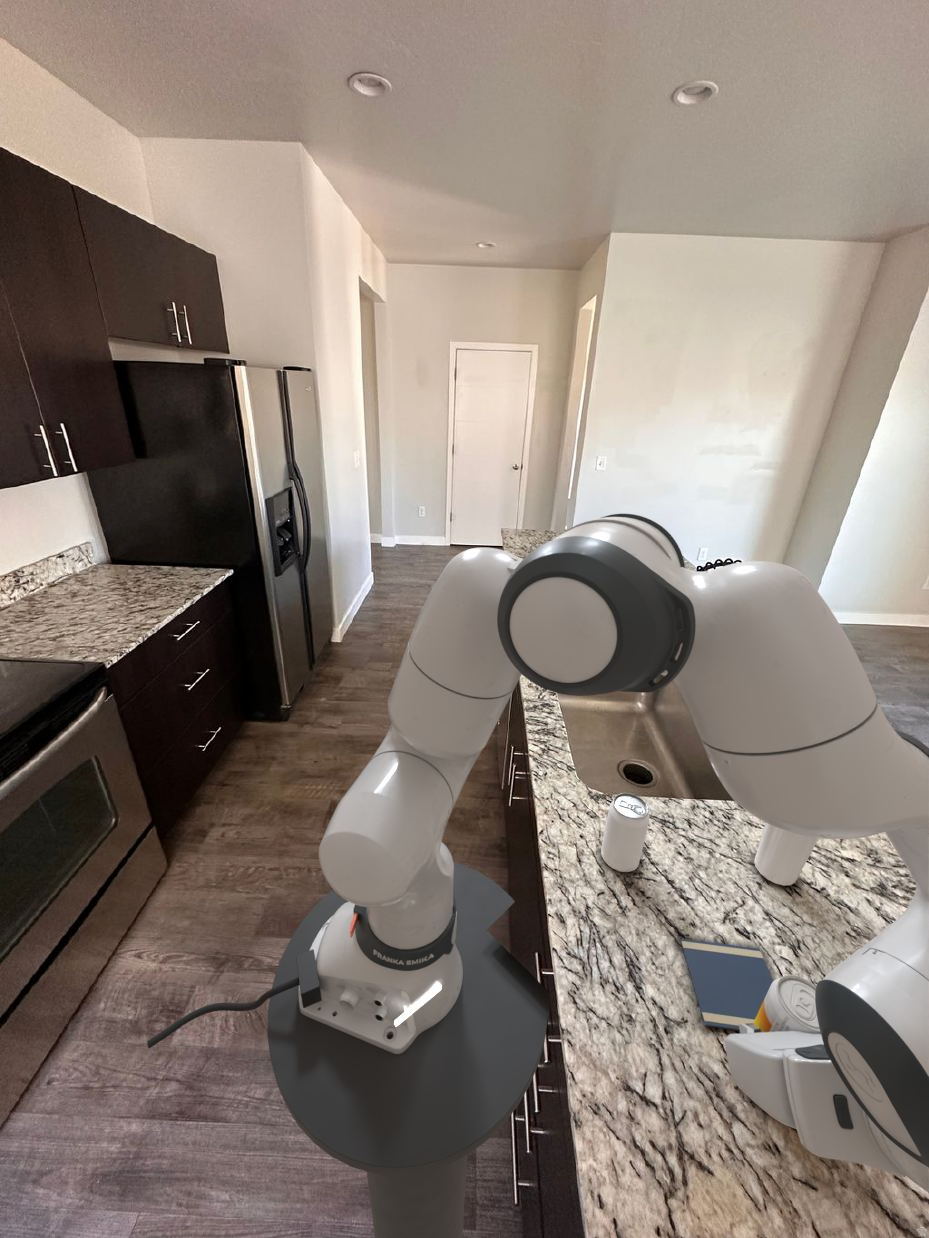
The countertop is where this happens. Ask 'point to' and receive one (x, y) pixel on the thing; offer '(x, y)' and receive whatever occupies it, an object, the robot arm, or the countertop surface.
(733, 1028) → the blue striped coaster
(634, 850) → the can
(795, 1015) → the beer can
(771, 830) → the cup
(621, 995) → the countertop surface
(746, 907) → the countertop surface
